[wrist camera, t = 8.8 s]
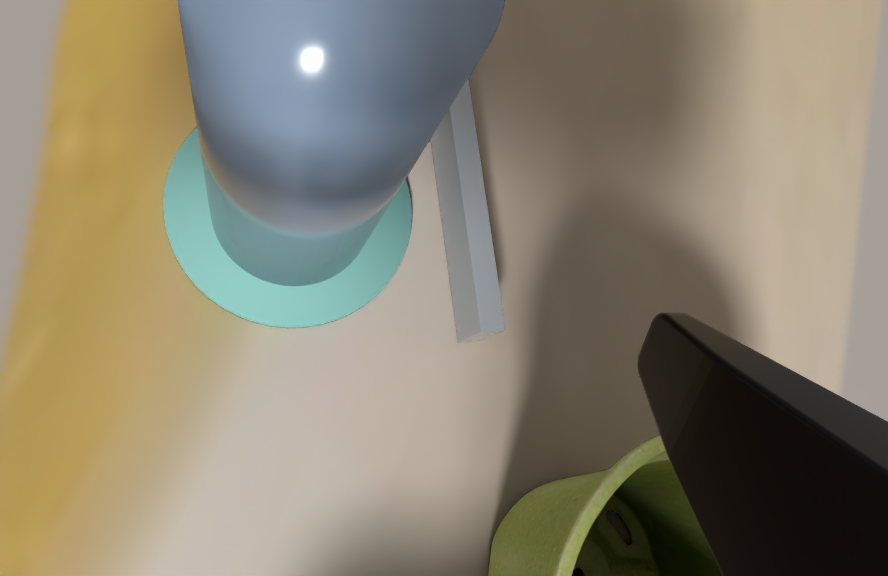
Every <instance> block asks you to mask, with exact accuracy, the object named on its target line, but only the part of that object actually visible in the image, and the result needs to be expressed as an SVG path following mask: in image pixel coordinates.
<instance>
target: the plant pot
mask: <svg viewBox="0 0 888 576" xmlns="http://www.w3.org/2000/svg"><path fill="white" fill-rule="evenodd" d="M607 511H613V512H615V513H617V514H618V515H619V516H620V517H621V518H622V520H623V521H624V523H625V525H626V526H627V527H628V529H629V532H630V534H631V538H632V543H631V544H630V545H627V544H625V542H624V540H623V539H622V537H621V536H620V533H619V532H618V530H617V528H616V527H615V526H614V525H613V524H612V523H611V522H610V521H609V520H608V519H607V517H606V512H607ZM576 568H580V569H581V570H582V571H583V573H584V576H723V575H722V573H721V571H720V569H719V566H718V564H717V562H716V560H715V558H714V556H713V554H712V551H711V549H710V547H709V545H708V543H707V541H706V539H705V536H704V534H703V532H702V530H701V528H700V526H699V524H698V521H697V519H696V517H695V515H694V513H693V511H692V509H691V506H690V504H689V502H688V500H687V498H686V496H685V494H684V491H683V489H682V487H681V485H680V483H679V481H678V479H677V476H676V474H675V472H674V470H673V467H672V465H671V463H670V461H669V458H668V456H667V453H666V450H665V448H664V445H663V442H662V439H661V436H660V435H658V436H655V437H653V438H651V439H649V440H648V441H646V442H644V443H642V444H640V445H639V446H637V447H636V448H634V449H633V450H631V451H630V452H628V453H627V454H626V455H624V456H623V457H622V458H621V459H620V460H619V461H618V462H616V463H615V464H614V465H613V466H612V467H611V468H610V469H608V470H604V471H599V472H595V473H590V474H585V475H580V476H575V477H570V478H565V479H560V480H556V481H552V482H549V483H546V484H543V485H541V486H539V487H537V488H535V489H533V490H532V491H530V492H528V493H527V494H526V495H524V496H523V497H522V498H521V499H520V500H519V501H518V502H517V503H516V504H515V505H514V506H513V507H512V508H511V509H510V511H509V512H508V513H507V514H506V516H505V517H504V519H503V520H502V522H501V524H500V525H499V527H498V529H497V531H496V533H495V536H494V538H493V541H492V547H491V555H490V564H489V574H488V576H572V572H573V570H574V569H576Z"/></svg>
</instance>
